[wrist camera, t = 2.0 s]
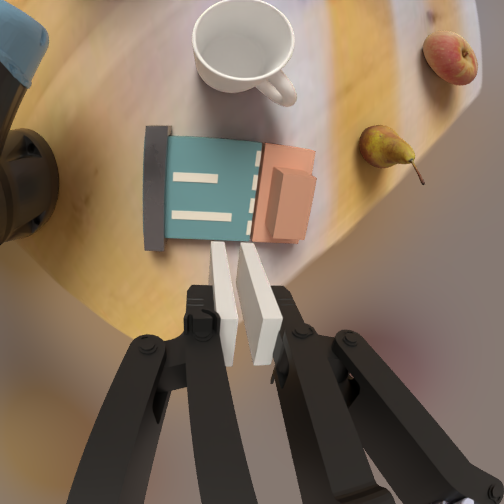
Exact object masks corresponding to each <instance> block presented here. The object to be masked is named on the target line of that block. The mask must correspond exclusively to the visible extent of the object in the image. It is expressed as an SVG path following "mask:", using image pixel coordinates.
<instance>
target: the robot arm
mask: <svg viewBox="0 0 504 504" xmlns="http://www.w3.org/2000/svg"><path fill="white" fill-rule="evenodd" d="M48 45H49V36H48V32H47V31H46V29H45V28H44V27H43V26H42V25H41V24H40V23H38V22H37V21H36V20H34V19H33V18H32V17H30V16H29V15H27V14H26V13H24V12H23V11H21V10H20V9H18V8H16V7H15V6H13V5H11V4H10V3H8V2H6V1H4V0H0V245H1V244H2V243H4V242H7V241H11V240H15V239H19V238H24V237H27V236H29V235H31V234H33V233H35V232H36V231H37V230H38V229H39V228H41V227H42V226H43V225H44V224H45V223H46V222H47V221H48V219H49V218H50V216H51V215H52V213H53V210H54V208H55V205H56V202H57V197H58V189H59V178H58V169H57V165H56V161H55V158H54V155H53V153H52V150H51V148H50V147H49V145H48V144H47V142H46V141H45V140H44V138H43V137H42V136H40V135H39V134H38V133H36V132H35V131H32V130H30V129H24V128H21V129H15V130H10V128H11V125H12V122H13V120H14V117H15V115H16V112H17V110H18V108H19V105H20V103H21V101H22V99H23V97H24V95H25V93H26V91H27V89H29V88H30V86H31V84H32V83H31V80H32V78H33V76H34V74H35V72H36V70H37V68H38V66H39V64H40V62H41V60H42V58H43V56H44V54H45V53H46V51H47V48H48ZM9 130H10V131H9ZM236 285H237V290H238V295H239V300H240V305H241V309H242V314H243V319H244V324H245V328H246V333H247V337H248V342H249V346H250V351H251V355H252V360H253V364H254V365H270V364H271V361H272V358H274V361H275V367H274V370H273V374H272V377H271V384H273V382H274V379H275V382H276V387H277V391H278V396H279V400H280V405H281V409H282V414H283V418H284V422H285V427H286V432H287V436H288V440H289V445H290V449H291V454H292V458H293V463H294V466H295V471H296V476H297V479H298V485H299V489H300V493H301V498H302V502H303V504H395V501H394V498H393V496H392V494H391V493H390V492H389V491H388V490H387V489H386V488H384V487H381V486H379V485H378V484H377V483H376V481H375V479H374V476H373V474H372V471H371V468H370V465H369V463H368V460H367V457H366V455H365V452H364V449H365V451H366V452H367V454H368V455H369V457H370V458H371V459H372V461H373V462H374V464H375V465H376V466H377V468H378V469H379V471H380V472H381V474H382V475H383V477H384V478H385V479H386V481H387V482H388V484H389V485H390V486H391V488H392V489H393V491H394V492H395V493H396V495H397V496H398V498H399V499H400V500H401V501H402V503H403V504H499V503H500V502H501V500H502V498H503V494H504V487H503V484H502V482H501V481H500V480H499V479H497V478H495V477H493V476H492V475H490V474H488V473H486V472H484V471H483V470H481V469H479V468H477V467H476V466H474V465H472V464H471V463H470V462H469V461H468V460H467V459H466V457H465V456H464V455H463V454H462V452H461V451H460V450H459V449H458V447H457V446H456V445H455V444H454V443H453V442H452V440H451V439H450V438H449V436H448V435H447V434H446V433H445V432H444V430H443V429H442V428H441V427H440V426H439V425H438V423H437V422H436V421H435V420H434V419H433V417H432V416H431V415H430V414H429V413H428V411H427V410H426V409H425V408H424V407H423V406H422V405H421V403H420V402H419V401H418V400H417V399H416V397H415V396H414V395H413V394H412V393H411V392H410V390H409V389H408V388H407V387H406V386H405V385H404V384H403V382H402V381H401V380H400V379H399V378H398V377H397V376H396V375H395V373H394V372H393V371H392V370H391V369H390V368H389V366H388V365H387V364H386V363H385V362H384V361H383V360H382V359H381V357H380V356H379V355H378V354H377V353H376V352H375V351H374V350H373V349H372V347H371V346H370V345H369V344H368V343H367V342H366V341H365V340H364V338H363V337H362V336H360V335H359V334H358V333H356V332H354V331H351V330H341V331H339V332H338V333H337V334H336V336H335V338H334V337H328V336H322V335H318V334H317V333H316V331H315V329H314V328H313V327H311V326H310V325H308V324H305V323H304V321H303V319H302V317H301V314H300V312H299V310H298V308H297V306H296V305H295V302H294V300H293V297H292V295H291V293H290V291H288V290H287V289H286V288H285V287H284V286H270V284H269V281H268V279H267V276H266V274H265V271H264V268H263V266H262V263H261V261H260V258H259V256H258V253H257V250H256V248H255V245H254V243H240V252H239V260H238V269H237V278H236ZM237 326H238V315H237V309H236V304H235V299H234V293H233V288H232V282H231V277H230V271H229V265H228V260H227V254H226V248H225V242H217V241H211V249H210V266H209V285H191V287H190V288H189V289H188V290H187V302H186V313H185V316H184V332H183V333H182V334H181V335H180V336H179V337H177V338H175V339H172V340H167V341H163V340H162V339H161V338H159V337H158V336H155V335H148V334H146V335H141V336H139V337H137V338H135V339H134V340H133V341H132V343H131V344H130V346H129V348H128V350H127V352H126V354H125V356H124V358H123V360H122V363H121V365H120V367H119V369H118V371H117V373H116V375H115V378H114V380H113V382H112V384H111V386H110V389H109V391H108V393H107V396H106V398H105V400H104V402H103V405H102V407H101V409H100V412H99V414H98V417H97V419H96V421H95V424H94V427H93V429H92V432H91V434H90V436H89V439H88V442H87V444H86V447H85V449H84V452H83V455H82V458H81V460H80V463H79V466H78V469H77V472H76V475H75V478H74V481H73V484H72V487H71V490H70V493H69V496H68V500H67V503H66V504H144V500H145V495H146V490H147V486H148V481H149V477H150V473H151V469H152V464H153V460H154V456H155V452H156V448H157V444H158V440H159V435H160V432H161V428H162V424H163V420H164V417H165V413H166V409H167V405H168V402H169V398H170V394H171V391H172V390H176V389H180V388H184V387H187V392H188V404H189V415H190V425H191V433H192V442H193V450H194V458H195V465H196V472H197V479H198V485H199V490H200V496H201V502H202V504H258V502H257V499H256V495H255V492H254V488H253V484H252V481H251V477H250V473H249V469H248V465H247V461H246V457H245V453H244V449H243V445H242V441H241V436H240V432H239V428H238V424H237V419H236V414H235V410H234V405H233V401H232V396H231V391H230V387H229V381H228V377H227V372H226V366H232V364H233V357H234V349H235V341H236V334H237ZM350 373H351V375H352V376H353V377H354V378H352V377H351V376H350V375H349V374H350ZM363 448H364V449H363Z"/></svg>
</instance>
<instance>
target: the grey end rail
mask: <svg viewBox="0 0 504 504" xmlns="http://www.w3.org/2000/svg"><path fill="white" fill-rule="evenodd" d="M171 129H172V126H146V131H145V147H144V171H143V223H144V248H145V251H164V250H165V246H166V242H167V238H165V197H166V170H167V153H168V139H169V135H170V134H171Z"/></svg>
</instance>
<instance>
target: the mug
mask: <svg viewBox="0 0 504 504" xmlns="http://www.w3.org/2000/svg"><path fill="white" fill-rule="evenodd" d="M294 44H295V38H294V32H293V29H292V26H291V24H290V23H289V21H288V19H287V18H286V17H285V16H284V15H283V14H282V12H280V11H279V10H278V9H277V8H275V7H274V6H272V5H270V4H268V3H266V2H263V1H261V0H224V1H221V2H219V3H216V4H214V5H213V6H211V7H209V8H208V9H207V10H206V11H205V12H204V13H203V14H202V15H201V16H200V17H199V18H198V20H197V22H196V24H195V26H194V29H193V33H192V45H193V51H194V57H195V63H196V68H197V71H198V73H199V75H200V77H201V78H202V80H203V81H204V82H205V83H206V84H208V85H209V86H210V87H212V88H214V89H216V90H218V91H222V92H226V93H238V92H243V91H246V90H249V89H251V88H253V87H256V88H257V89H258V90H259V91H260V92H262V93H263V94H264V95H265V96H266V97H268V98H269V99H270V100H272V101H273V102H275V103H277V104H279V105H281V106H285V107H289V106H292V105H294V104H295V102H296V100H297V94H296V91H295V88H294V86H293V85H292V83H291V82H290V80H289V79H288V77H287V76H286V75H285V74H284V72H283V71H282V70H281V69H282V68H283V67H284V66H285V65H286V64H287V63H288V61H289V59H290V58H291V56H292V53H293V50H294ZM267 80H268V81H269V82H270V83H271V84H272V85H273V86H274V87H275V88H276V89H275V88H274V87H273V86H272V85H271V84H270V83H269V82H268V81H267Z"/></svg>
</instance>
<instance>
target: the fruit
mask: <svg viewBox="0 0 504 504" xmlns="http://www.w3.org/2000/svg"><path fill="white" fill-rule="evenodd" d="M359 146H360V152H361V154H362V156H363V158H364V159H365V160H366V161H367V162H368V163H369V164H371V165H372V166H375V167H378V168H388V167H391V166H393V165H395V164H410V163H412V165H413V166H414V168H415V170H416V172H417V174H418V176H419V179H420V181H421V183H422V185H424V184H425V182H424V180H423V179H422V177H421V175H420V173H419V171H418V170H417V169H416V166H415V164H414V159H415V153H414V151H413V149H412V148H411V146H410V145H409V144H407V143H406V142H405V141H404V140H403V139H402V138H400V137H399V136H398V134H397V133H396V132H395V131H394V130H393V129H391V128H389V127H387V126H383V125H376V126H371V127H368V128H366V129H365V130H364V131H363V132H362V134H361V137H360V141H359Z"/></svg>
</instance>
